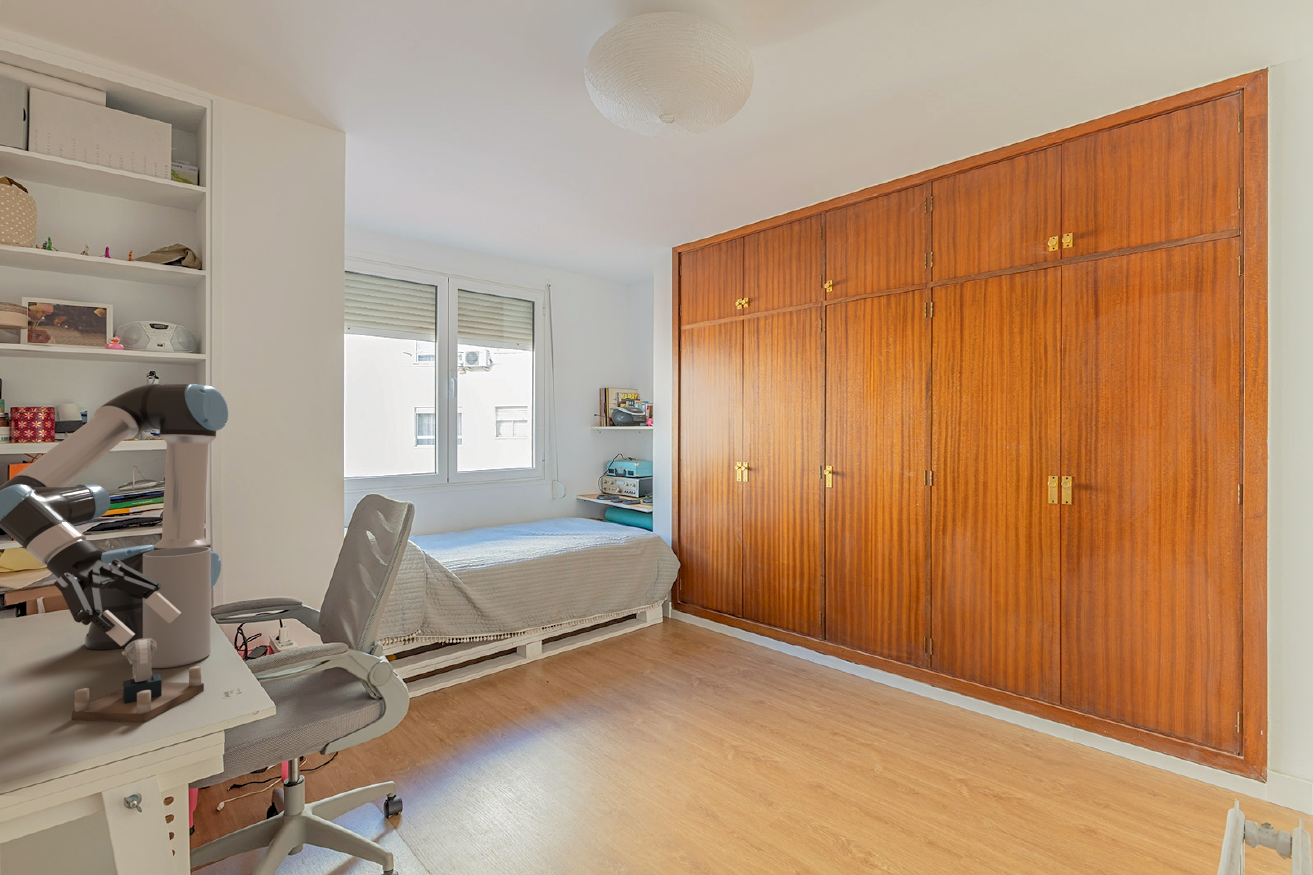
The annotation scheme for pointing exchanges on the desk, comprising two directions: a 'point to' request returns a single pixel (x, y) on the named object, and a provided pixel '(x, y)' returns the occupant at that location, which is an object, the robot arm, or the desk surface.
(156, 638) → the cylinder vase
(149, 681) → the watch
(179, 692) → the peg base
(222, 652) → the desk surface
